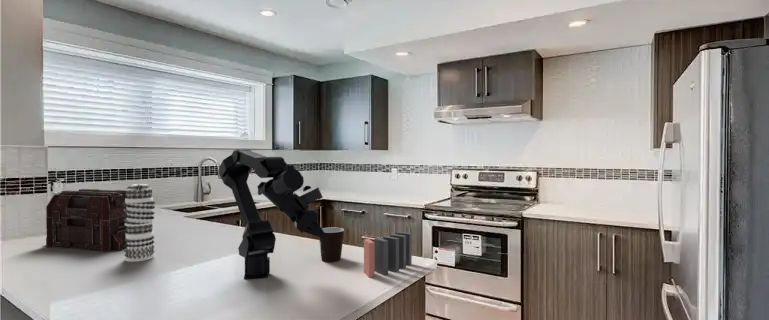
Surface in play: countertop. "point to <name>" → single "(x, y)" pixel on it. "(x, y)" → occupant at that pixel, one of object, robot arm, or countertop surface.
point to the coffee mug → (331, 244)
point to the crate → (87, 220)
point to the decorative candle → (139, 222)
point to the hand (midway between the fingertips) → (323, 235)
